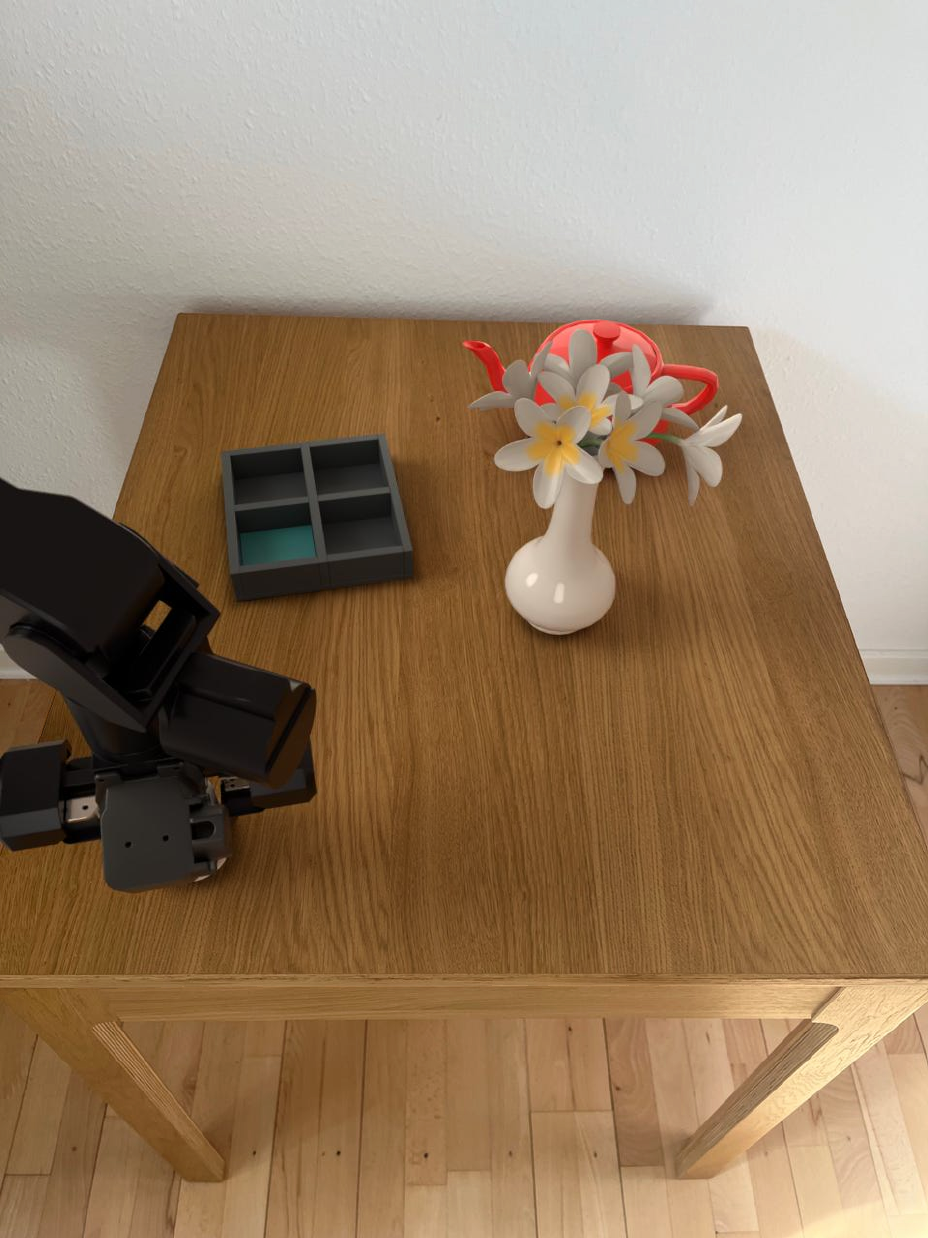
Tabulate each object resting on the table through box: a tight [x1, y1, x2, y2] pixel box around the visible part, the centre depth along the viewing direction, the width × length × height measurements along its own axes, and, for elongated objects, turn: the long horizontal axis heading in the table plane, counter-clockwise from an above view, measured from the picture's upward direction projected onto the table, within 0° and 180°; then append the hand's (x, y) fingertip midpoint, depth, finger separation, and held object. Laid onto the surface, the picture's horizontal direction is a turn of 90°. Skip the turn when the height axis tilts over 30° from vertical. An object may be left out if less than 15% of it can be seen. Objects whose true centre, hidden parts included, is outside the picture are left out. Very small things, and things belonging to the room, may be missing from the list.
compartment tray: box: [220, 433, 414, 602], centre depth 85 cm, size 15×15×4 cm
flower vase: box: [467, 329, 743, 636], centre depth 72 cm, size 13×18×25 cm
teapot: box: [461, 319, 720, 448], centre depth 92 cm, size 25×16×12 cm, turn 86°
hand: (186, 833), depth 65 cm, fingers closed on pill bottle, 5 cm apart
